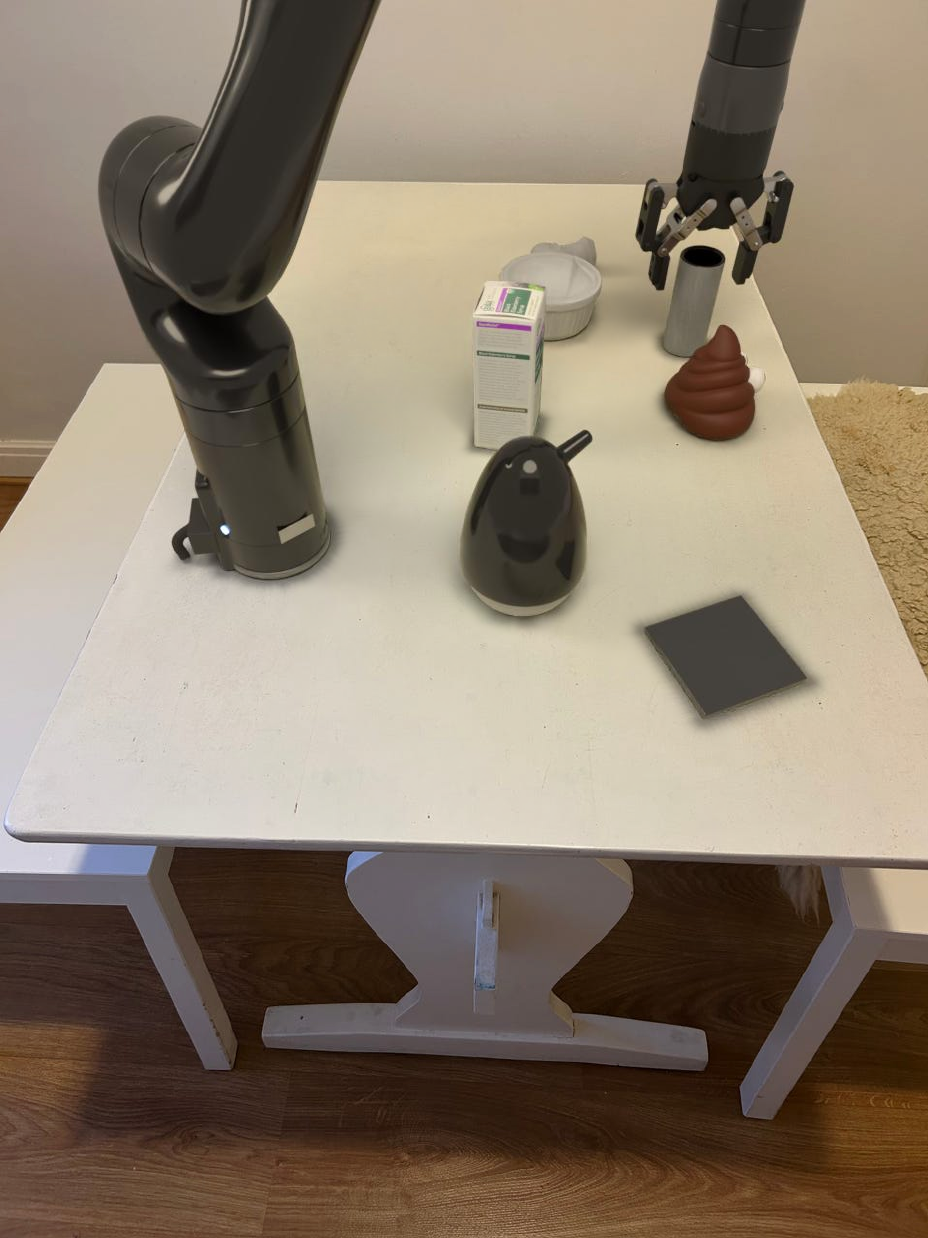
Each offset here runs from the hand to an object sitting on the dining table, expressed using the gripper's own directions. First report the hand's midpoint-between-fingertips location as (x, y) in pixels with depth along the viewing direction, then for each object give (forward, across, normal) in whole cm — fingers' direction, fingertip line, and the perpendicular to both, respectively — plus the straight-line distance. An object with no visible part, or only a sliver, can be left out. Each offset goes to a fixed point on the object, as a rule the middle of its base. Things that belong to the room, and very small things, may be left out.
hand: (697, 283), depth 87 cm
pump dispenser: (+7, +24, +33) cm, 41 cm away
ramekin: (+7, +14, -7) cm, 17 cm away
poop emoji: (+7, +1, +12) cm, 14 cm away
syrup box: (+7, +22, +13) cm, 26 cm away
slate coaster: (+7, +9, +42) cm, 44 cm away
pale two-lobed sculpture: (+7, +10, -17) cm, 21 cm away
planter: (+7, 0, 0) cm, 7 cm away
